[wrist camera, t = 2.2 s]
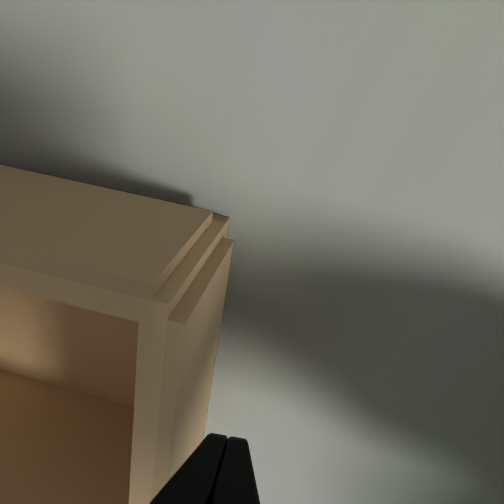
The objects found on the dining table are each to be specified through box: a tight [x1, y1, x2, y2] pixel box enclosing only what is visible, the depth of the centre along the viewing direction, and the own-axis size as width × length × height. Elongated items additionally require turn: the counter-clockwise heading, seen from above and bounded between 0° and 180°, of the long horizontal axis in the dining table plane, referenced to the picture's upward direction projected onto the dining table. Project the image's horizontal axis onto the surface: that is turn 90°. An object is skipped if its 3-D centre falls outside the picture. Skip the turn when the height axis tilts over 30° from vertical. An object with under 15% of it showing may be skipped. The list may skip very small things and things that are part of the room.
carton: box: [0, 165, 234, 504], centre depth 18 cm, size 12×13×7 cm
